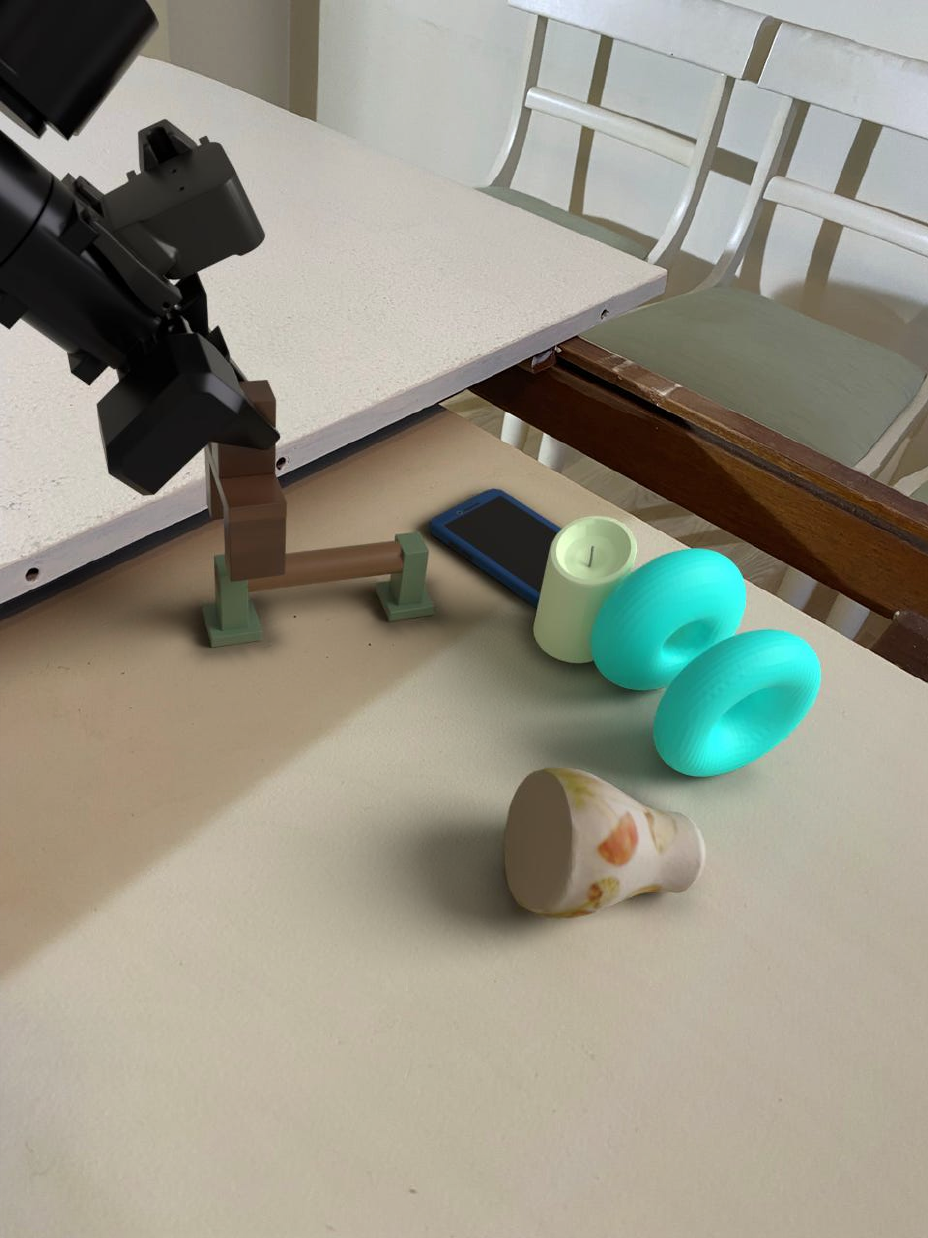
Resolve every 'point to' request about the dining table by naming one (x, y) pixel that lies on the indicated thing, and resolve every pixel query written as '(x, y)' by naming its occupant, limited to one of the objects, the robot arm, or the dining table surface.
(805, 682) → the donuts
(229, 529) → the brown stepped block
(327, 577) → the stand
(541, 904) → the flowered bud vase
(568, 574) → the candle
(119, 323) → the robot arm
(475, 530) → the cell phone
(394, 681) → the dining table surface
